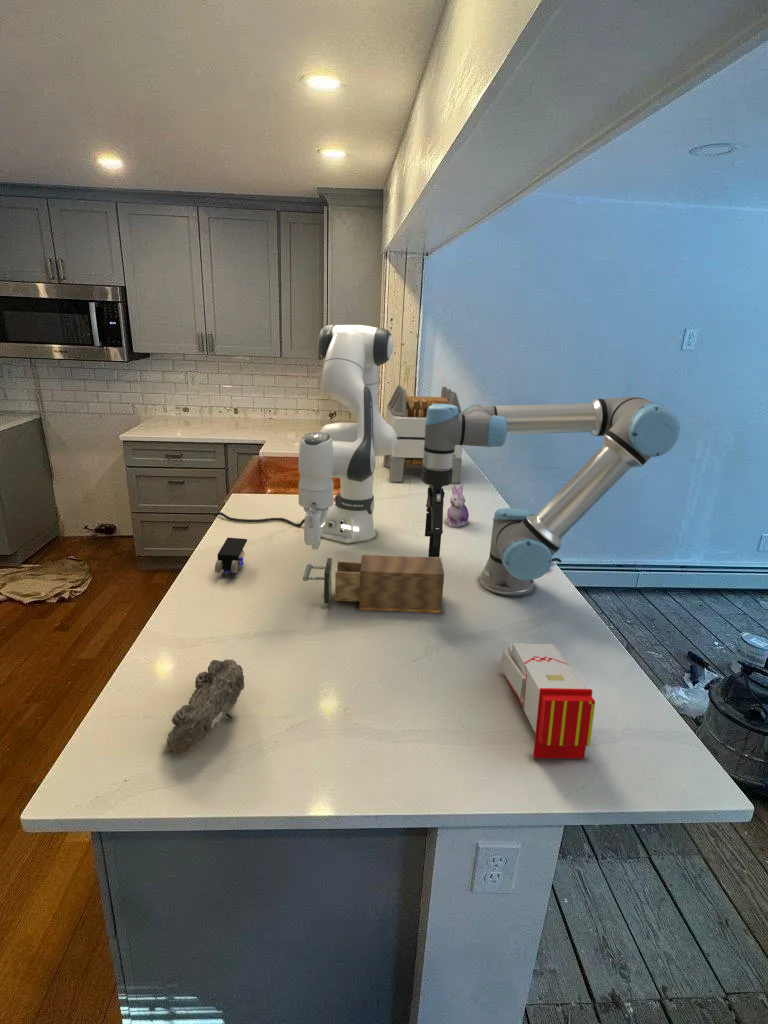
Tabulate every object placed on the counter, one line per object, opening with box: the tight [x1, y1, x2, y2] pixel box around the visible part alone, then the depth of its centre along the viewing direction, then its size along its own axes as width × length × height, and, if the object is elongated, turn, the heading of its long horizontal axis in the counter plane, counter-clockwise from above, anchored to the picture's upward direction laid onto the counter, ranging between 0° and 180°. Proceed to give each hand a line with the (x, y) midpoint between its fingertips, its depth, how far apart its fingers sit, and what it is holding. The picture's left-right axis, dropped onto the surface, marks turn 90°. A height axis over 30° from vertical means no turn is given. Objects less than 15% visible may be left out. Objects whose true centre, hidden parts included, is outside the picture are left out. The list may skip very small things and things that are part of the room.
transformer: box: [383, 384, 463, 484], centre depth 268 cm, size 34×33×41 cm
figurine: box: [446, 483, 470, 528], centre depth 210 cm, size 9×10×15 cm
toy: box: [499, 642, 596, 760], centre depth 113 cm, size 12×13×30 cm
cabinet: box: [358, 554, 445, 614], centre depth 152 cm, size 22×10×11 cm, turn 90°
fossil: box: [166, 658, 245, 754], centre depth 106 cm, size 22×10×15 cm
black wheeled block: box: [214, 537, 248, 578], centre depth 166 cm, size 7×8×15 cm
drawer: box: [302, 557, 361, 605], centre depth 152 cm, size 26×9×9 cm, turn 90°
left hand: (316, 547), depth 148 cm, fingers closed
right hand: (431, 546), depth 148 cm, fingers open, 13 cm apart
